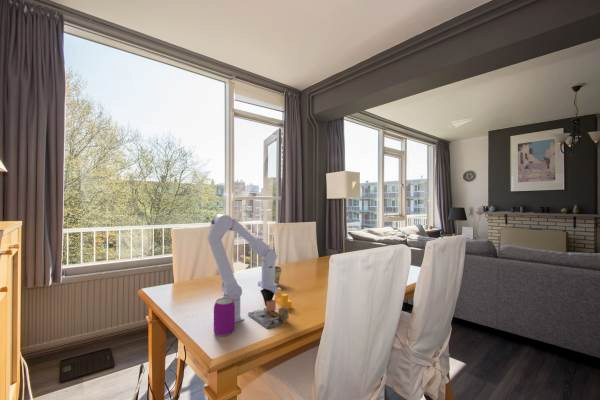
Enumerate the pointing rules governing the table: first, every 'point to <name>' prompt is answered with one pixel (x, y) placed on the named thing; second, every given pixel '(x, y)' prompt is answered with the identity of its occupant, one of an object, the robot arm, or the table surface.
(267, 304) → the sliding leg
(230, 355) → the table surface
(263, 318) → the strip
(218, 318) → the beverage can
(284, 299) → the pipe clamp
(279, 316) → the trammel bar
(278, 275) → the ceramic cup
